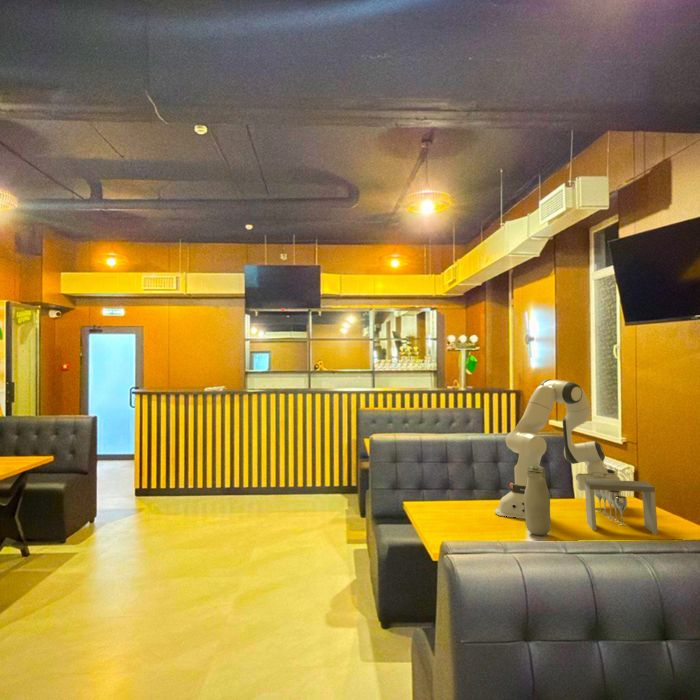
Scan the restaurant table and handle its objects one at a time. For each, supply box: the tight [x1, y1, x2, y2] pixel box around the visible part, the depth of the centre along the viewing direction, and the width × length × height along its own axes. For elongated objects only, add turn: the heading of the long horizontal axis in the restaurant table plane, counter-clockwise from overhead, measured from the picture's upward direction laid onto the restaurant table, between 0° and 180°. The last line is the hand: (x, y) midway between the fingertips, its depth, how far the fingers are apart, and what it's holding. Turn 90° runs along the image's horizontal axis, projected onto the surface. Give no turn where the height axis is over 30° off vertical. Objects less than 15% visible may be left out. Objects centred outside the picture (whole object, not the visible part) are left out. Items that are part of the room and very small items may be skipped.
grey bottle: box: [524, 465, 552, 536], centre depth 193 cm, size 10×10×28 cm
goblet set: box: [594, 490, 628, 525], centre depth 215 cm, size 28×6×13 cm, turn 174°
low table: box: [585, 479, 659, 535], centre depth 199 cm, size 24×12×19 cm, turn 73°
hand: (602, 497), depth 230 cm, fingers closed
